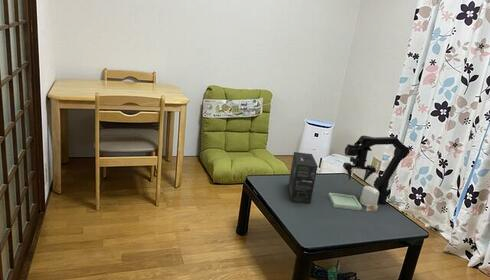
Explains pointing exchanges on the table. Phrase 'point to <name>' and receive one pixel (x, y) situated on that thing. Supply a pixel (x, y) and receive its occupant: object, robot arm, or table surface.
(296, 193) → the headset box
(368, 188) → the photo printer
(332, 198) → the tray
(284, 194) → the table surface
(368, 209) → the holder
